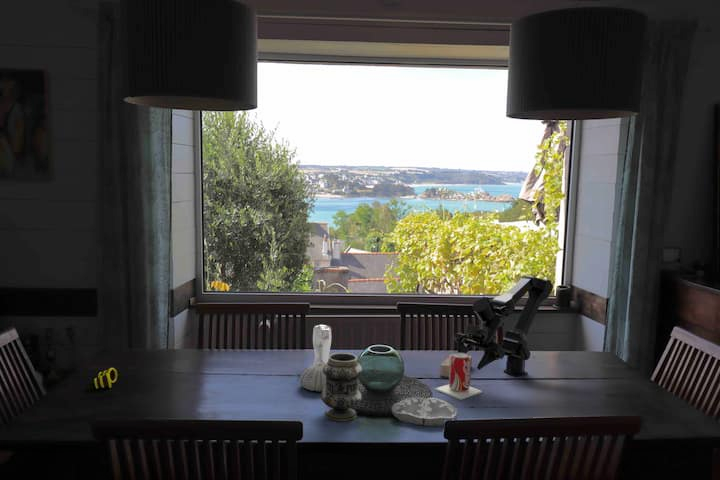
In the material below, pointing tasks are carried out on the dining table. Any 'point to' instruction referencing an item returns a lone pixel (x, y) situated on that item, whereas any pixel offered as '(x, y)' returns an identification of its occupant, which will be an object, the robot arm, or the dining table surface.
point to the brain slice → (424, 411)
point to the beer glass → (321, 343)
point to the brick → (447, 366)
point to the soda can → (459, 372)
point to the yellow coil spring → (106, 378)
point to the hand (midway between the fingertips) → (467, 365)
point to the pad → (458, 395)
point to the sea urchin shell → (314, 378)
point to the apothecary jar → (341, 386)
